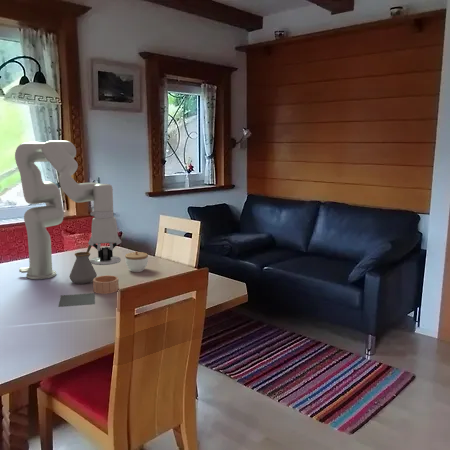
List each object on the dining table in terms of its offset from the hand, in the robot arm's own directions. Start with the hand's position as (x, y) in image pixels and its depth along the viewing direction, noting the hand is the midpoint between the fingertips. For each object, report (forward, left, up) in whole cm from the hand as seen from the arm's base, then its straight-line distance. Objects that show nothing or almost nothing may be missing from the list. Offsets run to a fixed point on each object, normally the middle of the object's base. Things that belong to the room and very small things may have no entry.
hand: (105, 258), depth 185 cm
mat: (-11, -10, -14) cm, 20 cm away
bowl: (0, 0, -14) cm, 14 cm away
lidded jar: (+15, +28, -14) cm, 35 cm away
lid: (0, 0, -1) cm, 1 cm away
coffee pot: (-8, +19, -14) cm, 25 cm away
